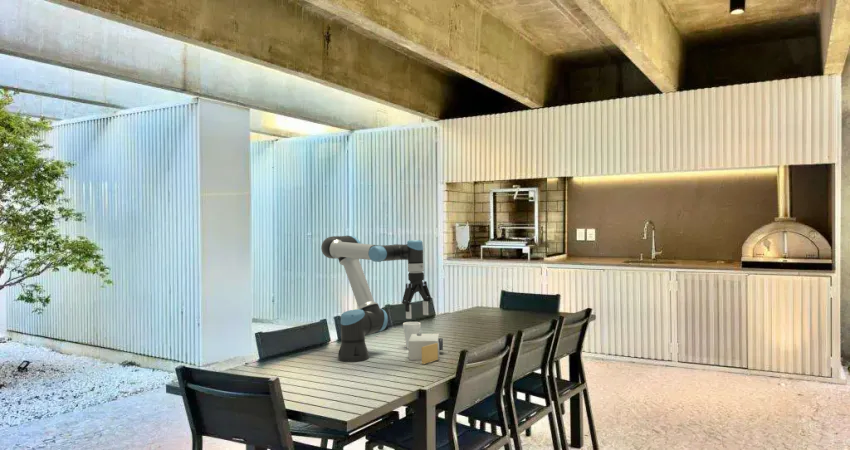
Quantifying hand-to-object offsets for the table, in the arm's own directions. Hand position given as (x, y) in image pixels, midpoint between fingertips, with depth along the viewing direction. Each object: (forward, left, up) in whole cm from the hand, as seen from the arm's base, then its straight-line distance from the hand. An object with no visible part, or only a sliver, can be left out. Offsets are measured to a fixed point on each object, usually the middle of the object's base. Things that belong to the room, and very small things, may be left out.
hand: (417, 316), depth 287 cm
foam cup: (+29, +16, -22) cm, 40 cm away
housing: (+13, +2, -21) cm, 25 cm away
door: (0, -7, -21) cm, 22 cm away
